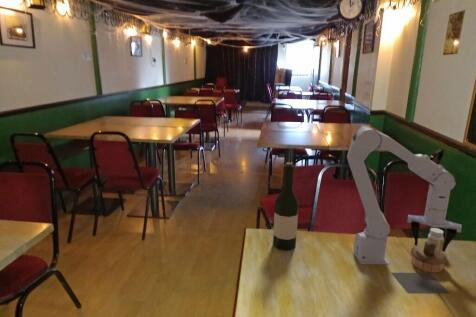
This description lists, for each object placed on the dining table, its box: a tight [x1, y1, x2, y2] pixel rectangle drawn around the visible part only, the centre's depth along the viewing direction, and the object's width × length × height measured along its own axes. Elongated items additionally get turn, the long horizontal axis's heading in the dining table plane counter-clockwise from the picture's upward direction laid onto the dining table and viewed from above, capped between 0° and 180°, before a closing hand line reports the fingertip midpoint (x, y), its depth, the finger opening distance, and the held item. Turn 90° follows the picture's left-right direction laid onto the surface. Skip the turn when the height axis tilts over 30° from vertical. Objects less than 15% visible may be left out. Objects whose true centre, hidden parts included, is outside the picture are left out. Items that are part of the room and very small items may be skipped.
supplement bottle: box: [426, 227, 445, 252], centre depth 117 cm, size 5×5×8 cm
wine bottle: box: [272, 162, 300, 252], centre depth 118 cm, size 8×8×30 cm
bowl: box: [410, 255, 445, 273], centre depth 110 cm, size 9×9×4 cm
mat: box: [391, 272, 451, 294], centre depth 100 cm, size 12×10×1 cm
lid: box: [410, 240, 448, 265], centre depth 108 cm, size 10×10×4 cm
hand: (429, 247), depth 109 cm, fingers open, 7 cm apart
